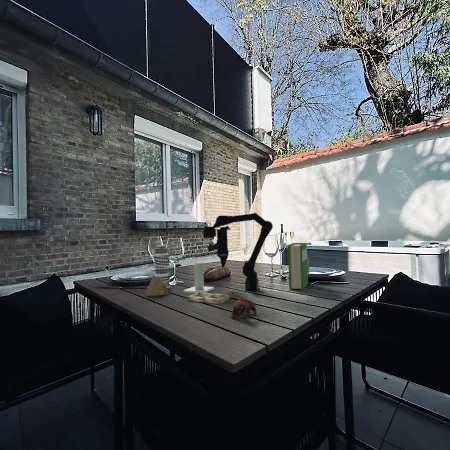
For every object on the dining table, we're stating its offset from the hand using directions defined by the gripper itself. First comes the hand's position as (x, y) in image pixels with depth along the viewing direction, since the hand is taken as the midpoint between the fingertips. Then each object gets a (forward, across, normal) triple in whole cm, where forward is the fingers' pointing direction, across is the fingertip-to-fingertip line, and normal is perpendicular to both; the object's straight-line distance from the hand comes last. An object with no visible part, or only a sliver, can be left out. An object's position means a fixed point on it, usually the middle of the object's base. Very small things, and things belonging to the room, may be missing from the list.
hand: (223, 266), depth 161 cm
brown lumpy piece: (+13, +49, +8) cm, 51 cm away
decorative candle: (+13, -11, -36) cm, 40 cm away
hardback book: (+13, -1, +42) cm, 44 cm away
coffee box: (+13, -24, +52) cm, 59 cm away
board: (+13, +2, -13) cm, 19 cm away
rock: (+13, +7, -35) cm, 38 cm away
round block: (+12, +2, -13) cm, 18 cm away
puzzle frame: (+13, +23, -7) cm, 28 cm away
